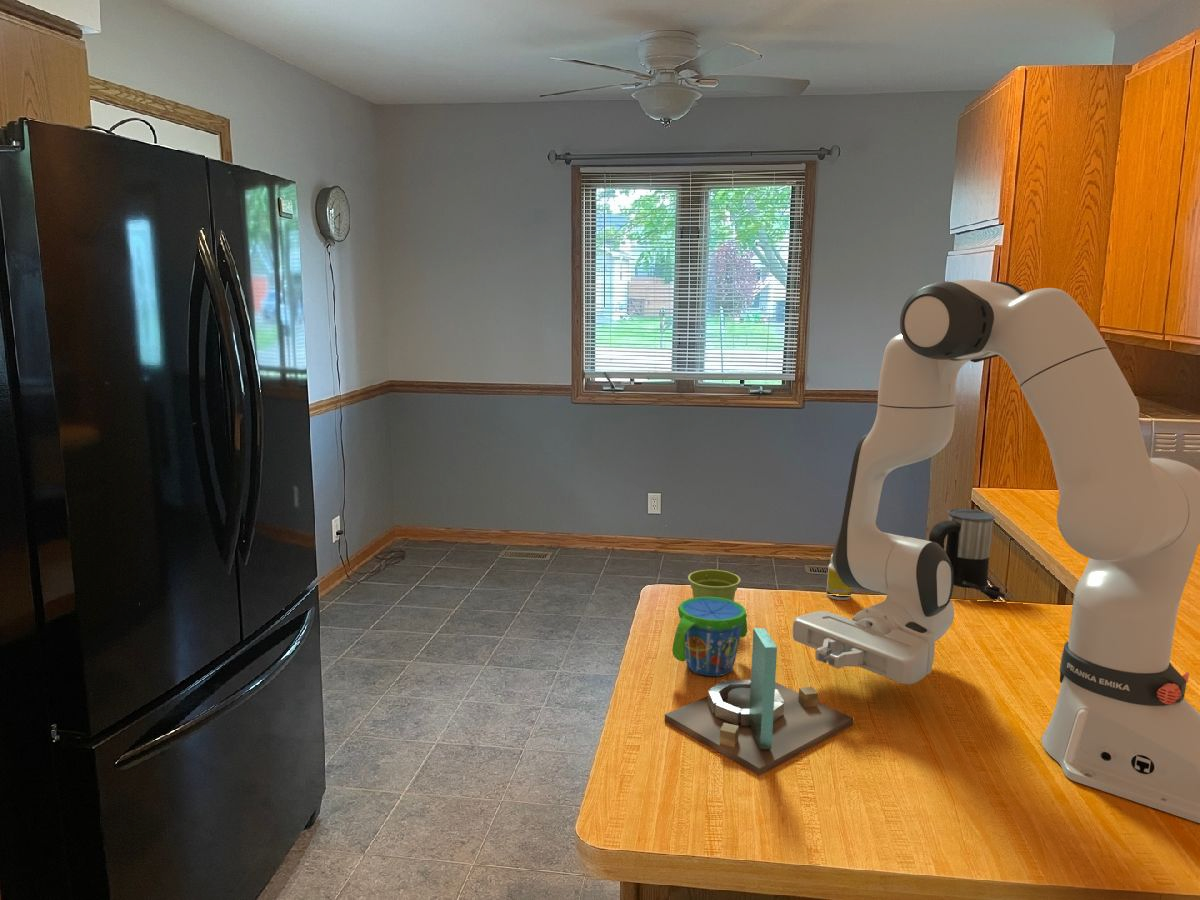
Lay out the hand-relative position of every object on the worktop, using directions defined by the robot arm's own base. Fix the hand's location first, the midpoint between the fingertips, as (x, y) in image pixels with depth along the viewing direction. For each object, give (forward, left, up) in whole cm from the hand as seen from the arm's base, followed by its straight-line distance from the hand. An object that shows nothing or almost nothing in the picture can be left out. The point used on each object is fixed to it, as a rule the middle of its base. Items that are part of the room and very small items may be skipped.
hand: (826, 659), depth 118 cm
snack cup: (+20, +3, -8) cm, 22 cm away
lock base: (+4, +10, -8) cm, 13 cm away
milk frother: (+12, -67, -8) cm, 69 cm away
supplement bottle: (+26, -41, -8) cm, 49 cm away
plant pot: (+32, -11, -8) cm, 35 cm away
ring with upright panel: (+4, +11, -7) cm, 14 cm away
